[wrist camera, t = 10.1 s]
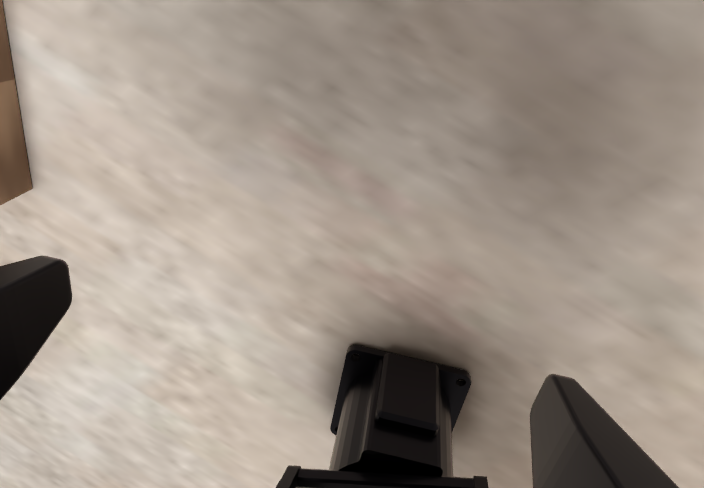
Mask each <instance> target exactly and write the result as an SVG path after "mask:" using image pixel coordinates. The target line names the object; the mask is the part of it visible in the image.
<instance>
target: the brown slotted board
mask: <svg viewBox="0 0 704 488" xmlns="http://www.w3.org/2000/svg"><path fill="white" fill-rule="evenodd" d="M31 189H32V183H31V177H30V171H29V165H28V158H27V152H26V146H25V140H24V134H23V127H22V121H21V115H20V109H19V103H18V96H17V90H16V84H15V78H14V72H13V65H12V59H11V53H10V47H9V41H8V34H7V28H6V22H5V16H4V10H3V3H2V0H0V205H2V204H4V203H6V202H7V201H9V200H11V199H13V198H15V197H17V196H19V195H21V194H23V193H25V192H27V191H29V190H31Z"/></svg>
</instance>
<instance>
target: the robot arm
mask: <svg viewBox="0 0 704 488" xmlns="http://www.w3.org/2000/svg"><path fill="white" fill-rule="evenodd" d="M71 301H72V291H71V283H70V276H69V268H68V265H67V263H66V262H65V261H63V260H61V259H57V258H53V257H48V256H38V257H34V258H30V259H26V260H23V261H19V262H15V263H11V264H7V265H4V266H0V400H1V399H2V398H3V396H4V395H5V394H6V393H7V392H8V391H9V390H10V388H11V387H12V386H13V385H14V384H15V382H16V381H17V380H18V379H19V378H20V376H21V375H22V374H23V372H24V371H25V370H26V368H27V367H28V366H29V364H30V363H31V362H32V360H33V359H34V357H35V356H36V355H37V353H38V352H39V350H40V349H41V347H42V346H43V345H44V343H45V342H46V340H47V339H48V337H49V336H50V335H51V333H52V332H53V330H54V329H55V328H56V326H57V325H58V323H59V322H60V320H61V319H62V318H63V316H64V315H65V313H66V312H67V310H68V309H69V307H70V305H71ZM353 354H358V355H359V356H354V355H353ZM457 379H464V380H462V381H459V380H457ZM470 385H471V376H470V374H469V373H468V372H467V371H465V370H462V369H458V368H454V367H450V366H445V365H441V364H437V363H432V362H428V361H424V360H420V359H415V358H411V357H407V356H402V355H398V354H394V353H390V352H385V351H381V350H377V349H372V348H368V347H364V346H360V345H353V346H350V347H349V348H348V350H347V354H346V359H345V363H344V368H343V372H342V377H341V382H340V386H339V391H338V395H337V400H336V405H335V409H334V414H333V418H332V423H331V432H332V433H333V434H335V435H336V440H335V444H334V449H333V454H332V458H331V463H330V468H329V470H319V469H301V466H288V467H287V469H286V471H285V473H284V475H283V477H282V478H281V480H280V481H279V483H278V485H277V486H276V488H488V482H487V477H483V476H474V478H459V477H453V461H452V435H451V433H452V431H453V428H454V426H455V423H456V420H457V418H458V415H459V413H460V410H461V408H462V405H463V403H464V400H465V398H466V395H467V393H468V390H469V388H470ZM530 428H531V450H532V472H533V488H679V487H678V486H677V485H676V484H675V483H674V482H673V481H672V480H671V479H670V478H669V477H668V476H667V475H666V474H665V473H664V472H663V471H662V470H661V469H660V467H659V466H658V465H657V464H656V463H655V462H654V461H653V460H652V459H651V458H650V457H649V456H648V455H647V454H646V453H645V452H644V451H643V450H642V449H641V448H640V447H639V446H638V445H637V444H636V443H635V442H634V441H633V439H632V438H631V437H630V436H629V435H628V434H627V433H626V432H625V431H624V430H623V429H622V428H621V427H620V426H619V425H618V424H617V423H616V422H615V421H614V420H613V419H612V418H611V417H610V416H609V415H608V414H607V413H606V411H605V410H604V409H603V408H602V407H601V406H600V405H599V404H598V403H597V402H596V401H595V400H594V399H593V398H592V397H591V396H590V395H589V394H588V393H587V392H586V391H585V390H584V389H583V388H582V387H581V386H580V385H579V383H578V382H576V381H575V380H574V379H572V378H569V377H565V376H560V375H556V374H551V375H549V376H548V377H547V378H546V379H545V381H544V383H543V385H542V387H541V389H540V391H539V393H538V395H537V397H536V399H535V401H534V403H533V405H532V408H531V413H530Z"/></svg>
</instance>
